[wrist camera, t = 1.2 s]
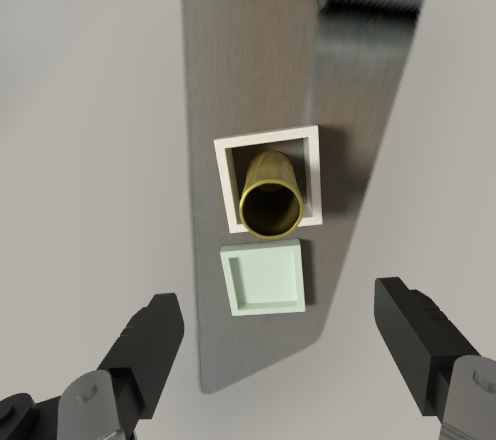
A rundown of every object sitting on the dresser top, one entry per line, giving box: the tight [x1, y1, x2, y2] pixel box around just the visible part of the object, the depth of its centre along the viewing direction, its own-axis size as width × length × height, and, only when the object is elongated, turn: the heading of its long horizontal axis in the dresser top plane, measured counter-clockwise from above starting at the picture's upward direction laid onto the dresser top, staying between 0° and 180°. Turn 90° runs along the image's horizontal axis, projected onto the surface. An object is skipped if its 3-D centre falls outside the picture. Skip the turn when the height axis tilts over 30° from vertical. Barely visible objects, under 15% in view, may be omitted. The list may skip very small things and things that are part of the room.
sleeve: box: [214, 124, 322, 233], centre depth 32 cm, size 11×11×5 cm
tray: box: [220, 239, 305, 316], centre depth 39 cm, size 11×11×2 cm
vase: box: [239, 151, 304, 239], centre depth 28 cm, size 6×6×14 cm
